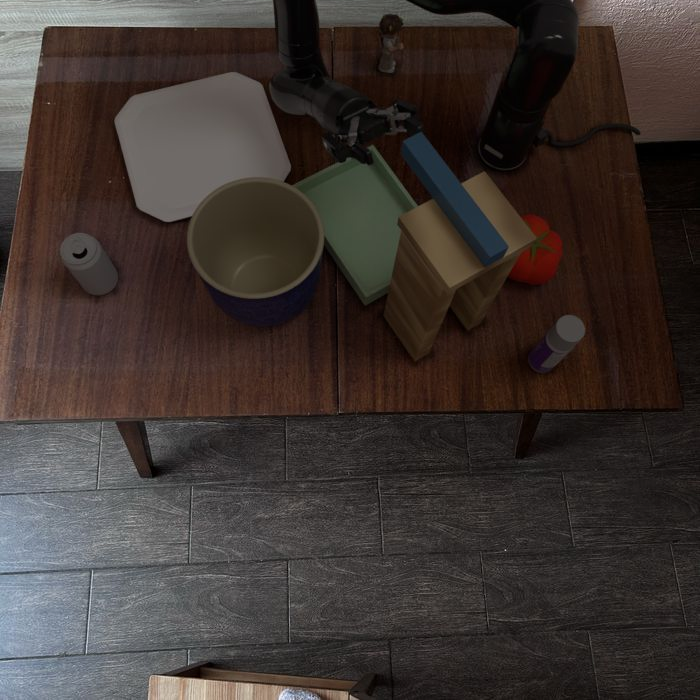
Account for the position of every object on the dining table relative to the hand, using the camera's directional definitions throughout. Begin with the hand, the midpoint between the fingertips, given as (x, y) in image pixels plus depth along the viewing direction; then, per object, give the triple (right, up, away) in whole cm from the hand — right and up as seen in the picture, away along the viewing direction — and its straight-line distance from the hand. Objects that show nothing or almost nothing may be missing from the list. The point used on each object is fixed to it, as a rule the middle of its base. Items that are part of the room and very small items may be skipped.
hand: (396, 145), depth 98 cm
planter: (-21, -18, +24) cm, 37 cm away
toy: (+1, +28, +42) cm, 50 cm away
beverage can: (-50, -17, +24) cm, 58 cm away
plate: (-34, +9, +33) cm, 49 cm away
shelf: (+8, -23, +23) cm, 34 cm away
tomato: (+24, -13, +28) cm, 39 cm away
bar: (+7, -9, -6) cm, 13 cm away
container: (+26, -31, +22) cm, 46 cm away
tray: (-3, -6, +29) cm, 30 cm away
